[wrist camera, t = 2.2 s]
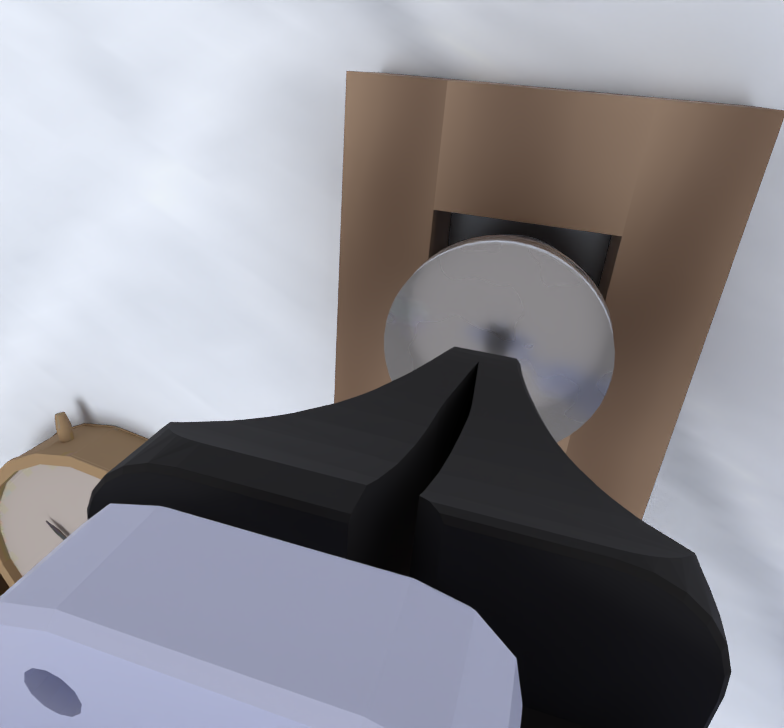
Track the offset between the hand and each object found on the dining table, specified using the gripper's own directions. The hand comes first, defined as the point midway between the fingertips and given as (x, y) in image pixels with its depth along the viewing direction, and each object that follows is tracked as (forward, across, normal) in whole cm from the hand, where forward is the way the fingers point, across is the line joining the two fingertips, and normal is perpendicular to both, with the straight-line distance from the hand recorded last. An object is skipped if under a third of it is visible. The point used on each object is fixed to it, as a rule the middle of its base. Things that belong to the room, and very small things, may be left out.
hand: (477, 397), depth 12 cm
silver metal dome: (+5, 0, 0) cm, 5 cm away
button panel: (+8, 0, +6) cm, 10 cm away
